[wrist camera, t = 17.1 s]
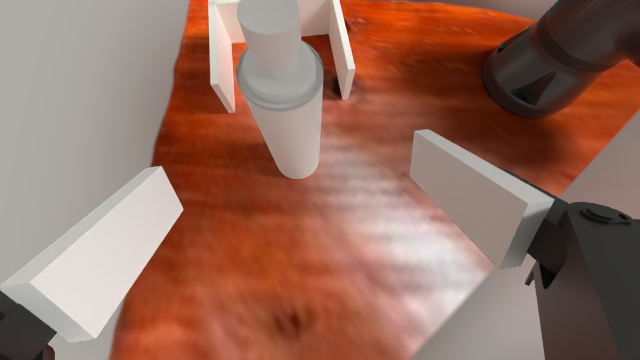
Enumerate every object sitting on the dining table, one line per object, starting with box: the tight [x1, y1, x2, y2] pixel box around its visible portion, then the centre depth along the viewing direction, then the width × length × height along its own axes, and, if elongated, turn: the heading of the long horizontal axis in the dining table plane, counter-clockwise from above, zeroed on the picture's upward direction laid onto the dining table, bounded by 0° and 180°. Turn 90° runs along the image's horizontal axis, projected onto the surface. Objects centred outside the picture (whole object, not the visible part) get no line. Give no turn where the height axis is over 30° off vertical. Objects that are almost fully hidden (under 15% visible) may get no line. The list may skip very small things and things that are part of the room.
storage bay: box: [208, 0, 355, 113], centre depth 37 cm, size 20×16×7 cm
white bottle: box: [236, 0, 324, 179], centre depth 23 cm, size 7×7×25 cm
